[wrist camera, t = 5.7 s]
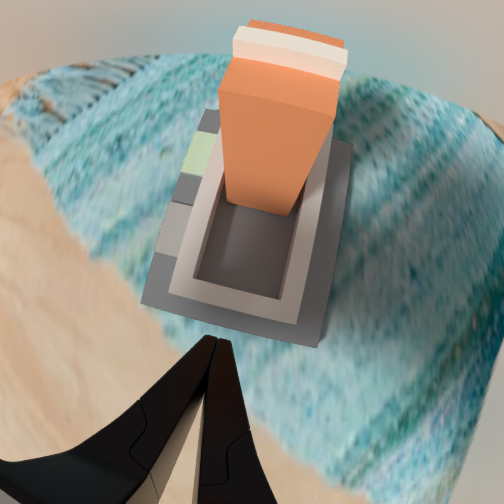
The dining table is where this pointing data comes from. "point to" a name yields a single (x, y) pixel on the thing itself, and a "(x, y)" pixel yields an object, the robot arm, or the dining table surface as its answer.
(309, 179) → the grey framed base plate
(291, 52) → the orange juice carton
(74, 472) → the robot arm
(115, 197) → the dining table surface
